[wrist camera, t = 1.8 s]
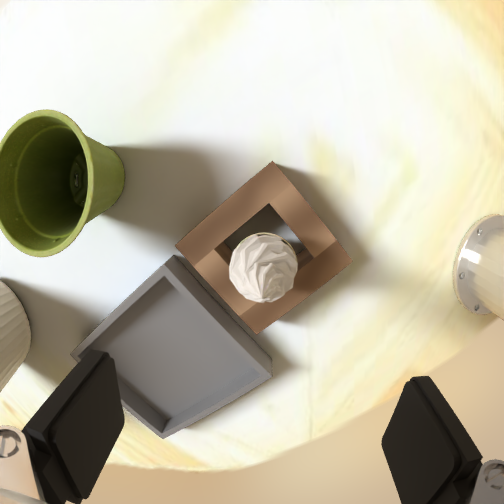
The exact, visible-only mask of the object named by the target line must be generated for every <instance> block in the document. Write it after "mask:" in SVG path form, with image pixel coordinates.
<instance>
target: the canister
mask: <svg viewBox="0 0 504 504" xmlns="http://www.w3.org/2000/svg"><path fill="white" fill-rule="evenodd" d="M30 343H31V332H30V326H29V321H28V318H27V315H26V313H25V310H24V308H23V307H22V304H21V302H20V301H19V300H18V297H17V296H16V295H15V294H14V292H13V291H11V289H10V288H9V287H7V286H6V284H5V283H2V282H1V281H0V392H1V391H2V389H3V388H4V387H5V385H6V384H7V383H8V381H9V380H10V379H11V377H12V376H13V375H14V373H15V372H16V371H17V369H18V368H19V367H20V365H21V364H22V362H23V361H24V360H25V358H26V356H27V354H28V351H29V349H30Z"/></svg>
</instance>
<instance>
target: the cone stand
mask: <svg viewBox="0 0 504 504" xmlns="http://www.w3.org/2000/svg"><path fill="white" fill-rule="evenodd" d="M268 203H270V205H271V206H272V207H273V208H274V209H275V211H276V212H277V213H278V214H279V215H280V217H281V218H282V219H283V220H284V221H285V223H286V224H287V225H288V226H289V227H290V229H291V230H292V231H293V232H294V233H295V235H296V236H297V237H298V238H299V240H300V241H301V242H302V243H303V244H304V246H305V247H306V248H305V249H304V250H303V251H301V252H300V253H299V254H298V255H296V257H297V263H298V265H297V272H296V275H295V277H294V282H293V288H292V289H290V290H288V291H287V292H285V295H284V296H282V297H281V298H279V299H277V300H275V301H273V302H267V301H265V302H263V303H260V302H256V301H252V300H249V299H246V298H245V297H244V296H243V295H242V294H240V293H239V292H238V290H237V289H236V287H235V286H234V284H233V283H232V281H231V280H230V276H229V266H230V262H231V258H232V254H233V252H232V251H231V250H230V248H229V247H228V246H227V245H226V244H225V243H224V242H223V241H224V240H225V239H226V238H228V237H229V236H230V235H231V234H232V233H233V232H235V231H236V230H237V229H238V228H239V227H241V226H242V225H243V224H244V223H245V222H247V221H248V220H249V219H250V218H251V217H253V216H254V215H255V214H256V213H257V212H259V211H260V210H261V209H262V208H263V207H265V206H266V205H267V204H268ZM175 247H176V248H177V249H178V250H179V251H180V252H181V253H182V255H183V256H184V257H185V258H186V259H187V260H188V261H189V262H190V264H191V265H192V266H193V267H194V268H195V269H196V270H197V271H198V272H199V274H200V275H201V276H202V277H203V278H204V279H205V280H206V281H207V282H208V283H209V285H210V286H211V287H212V288H213V289H214V290H215V291H216V292H217V293H218V294H219V295H220V296H221V298H222V299H223V300H224V301H225V302H226V303H227V304H228V305H229V306H230V307H231V308H232V309H233V310H234V312H235V313H236V314H237V315H238V316H239V317H240V318H241V319H242V320H243V321H244V322H245V323H246V324H247V325H248V326H249V327H250V328H251V329H252V331H253V332H254V333H255V334H256V335H257V334H258V333H260V332H261V331H262V330H264V329H265V328H266V327H268V326H269V325H271V324H272V323H273V322H275V321H276V320H277V319H279V318H280V317H282V316H283V315H284V314H286V313H287V312H288V311H290V310H291V309H292V308H294V307H295V306H296V305H298V304H299V303H300V302H302V301H303V300H304V299H306V298H307V297H308V296H309V295H311V294H312V293H313V292H315V291H316V290H317V289H319V288H320V287H321V286H322V285H324V284H325V283H326V282H328V281H329V280H330V279H331V278H333V277H334V276H335V275H337V274H338V273H339V272H340V271H342V270H343V269H344V268H345V267H347V266H348V265H349V264H350V263H352V262H353V261H352V259H351V258H350V257H349V255H348V254H347V253H346V251H345V250H344V249H343V247H342V246H341V245H340V244H339V242H338V241H337V240H336V238H335V237H334V236H333V234H332V233H331V232H330V231H329V229H328V228H327V227H326V225H325V224H324V223H323V222H322V220H321V219H320V218H319V217H318V215H317V214H316V213H315V212H314V210H313V209H312V208H311V207H310V205H309V204H308V203H307V202H306V200H305V199H304V198H303V197H302V195H301V194H300V193H299V192H298V191H297V189H296V188H295V187H294V186H293V185H292V183H291V182H290V181H289V180H288V178H287V177H286V176H285V175H284V174H283V173H282V171H281V170H280V169H279V168H278V167H277V165H276V164H275V163H274V162H273V161H272V162H271V163H269V164H268V165H267V166H266V167H265V168H263V169H262V170H261V171H260V172H259V173H257V174H256V175H255V176H254V177H253V178H251V179H250V180H249V181H248V182H247V183H245V184H244V185H243V186H242V187H241V188H240V189H238V190H237V191H236V192H235V193H234V194H233V195H231V196H230V197H229V198H228V199H227V200H226V201H224V202H223V203H222V204H221V205H220V206H219V207H217V208H216V209H215V210H214V211H213V212H212V213H211V214H209V215H208V216H207V217H206V218H205V219H204V220H203V221H202V222H200V223H199V224H198V225H197V226H196V227H195V228H194V229H193V230H191V231H190V232H189V233H188V234H187V235H186V236H185V237H184V238H182V239H181V240H180V241H179V242H178V243H177V244H176V245H175Z"/></svg>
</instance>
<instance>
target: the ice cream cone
mask: <svg viewBox="0 0 504 504" xmlns="http://www.w3.org/2000/svg"><path fill="white" fill-rule="evenodd" d="M297 265H298V263H297V257H296V254H295V251H294V249H293V248H292V246H291V245H290V244H289V243H288V242H287V241H286V240H285V239H283V238H282V237H280V236H278V235H276V234H272V233H257V234H253V235H251V236H248V237H247V238H245V239H244V240H242V241H241V242H240V243H239V244H238V246H237V247H236V249H234V251H233V254H232V258H231V262H230V266H229V276H230V280H231V281H232V283H233V284H234V286H235V287H236V289H237V290H238V292H239V293H240V294H242V295H243V296H244V297H245V298H246V299H249V300H252V301H256V302H260V303H263V302H265V301H267V302H273V301H275V300H277V299H279V298H281V297H282V296H284V295H285V292H287V291H288V290H290V289H292V288H293V282H294V277H295V275H296V272H297Z"/></svg>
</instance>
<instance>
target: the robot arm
mask: <svg viewBox="0 0 504 504" xmlns="http://www.w3.org/2000/svg"><path fill="white" fill-rule="evenodd" d="M453 283H454V289H455V293H456V295H457V298H458V299H459V301H460V303H461V304H462V305H463V306H464V307H465V308H466V309H468V310H469V311H471V312H472V313H475V314H480V315H485V314H489V313H492V312H493V313H494V314H496V315H497V316H498V317H500V318H501V319H502V320H504V216H503V215H499V214H492V215H488V216H485V217H483V218H482V219H480V220H478V221H477V222H476V223H475V224H474V225H473V226H472V227H471V228H470V229H469V231H468V232H467V233H466V235H465V236H464V238H463V240H462V242H461V244H460V246H459V249H458V251H457V254H456V258H455V262H454V269H453ZM123 426H124V413H123V408H122V403H121V398H120V392H119V386H118V380H117V374H116V368H115V361H114V359H113V358H111V357H110V355H109V353H108V352H104V351H100V350H95V349H91V350H89V351H88V353H87V354H86V355H85V356H84V357H83V358H82V359H81V360H80V362H79V363H78V364H77V365H76V366H75V367H74V368H73V370H72V371H71V372H70V373H69V374H68V375H67V377H66V378H65V379H64V380H63V381H62V382H61V383H60V385H59V386H58V387H57V388H56V389H55V391H54V392H53V393H52V394H51V395H50V396H49V398H48V399H47V400H46V401H45V402H44V404H43V405H42V406H41V407H40V408H39V410H38V411H37V412H36V413H35V414H34V416H33V417H32V418H31V419H30V421H29V422H28V423H27V424H26V426H25V427H24V428H23V430H22V431H20V430H19V429H17V428H16V427H13V426H9V425H2V426H0V504H65V502H66V500H67V501H70V502H72V503H75V504H80V503H81V501H82V499H87V498H88V497H89V495H90V493H91V491H92V489H93V487H94V485H95V483H96V481H97V479H98V477H99V475H100V473H101V470H102V469H103V467H104V465H105V463H106V460H107V458H108V456H109V454H110V452H111V450H112V448H113V446H114V444H115V442H116V440H117V438H118V437H119V435H120V433H121V431H122V429H123ZM382 448H383V451H384V454H385V457H386V460H387V463H388V465H389V468H390V471H391V474H392V477H393V480H394V482H395V486H396V488H397V491H398V494H399V497H400V500H401V503H402V504H504V461H502V460H489V461H487V462H485V463H484V464H482V463H481V459H482V458H483V457H482V455H481V453H480V452H479V450H478V449H477V447H476V446H475V444H474V442H473V441H472V439H471V437H470V436H469V434H468V433H467V431H466V430H465V428H464V427H463V425H462V423H461V422H460V420H459V419H458V417H457V416H456V414H455V413H454V411H453V410H452V408H451V407H450V405H449V404H448V402H447V401H446V400H445V398H444V397H443V395H442V394H441V392H440V391H439V389H438V388H437V386H436V385H435V384H434V382H433V381H432V379H431V378H430V377H429V376H418V377H412V378H411V379H410V381H408V382H406V384H405V386H404V388H403V391H402V393H401V396H400V399H399V401H398V403H397V406H396V408H395V411H394V413H393V415H392V418H391V420H390V422H389V424H388V427H387V429H386V431H385V433H384V435H383V438H382Z"/></svg>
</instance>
